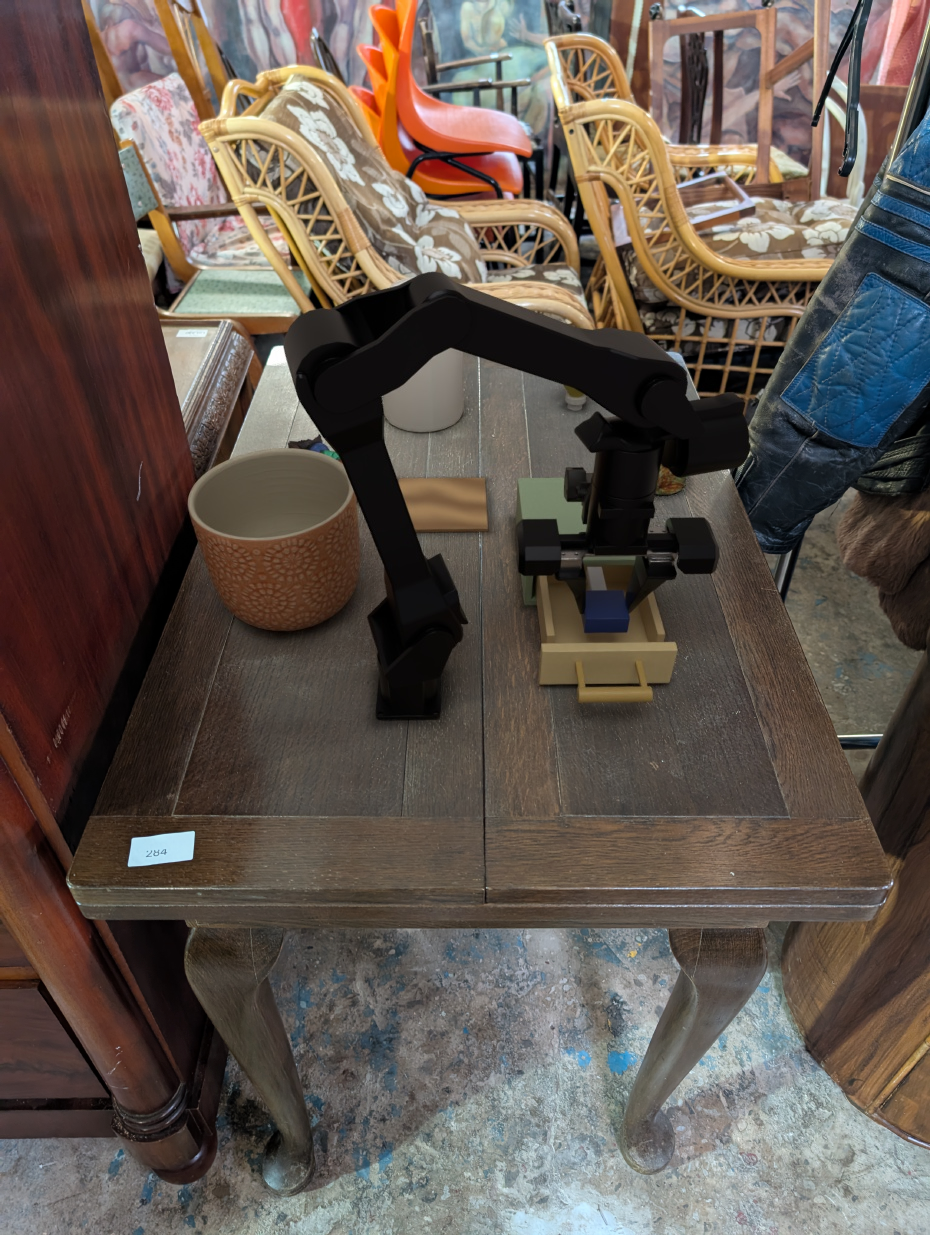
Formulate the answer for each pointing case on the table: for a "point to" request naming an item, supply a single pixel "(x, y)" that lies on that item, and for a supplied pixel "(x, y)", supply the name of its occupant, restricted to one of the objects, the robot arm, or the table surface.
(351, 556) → the planter
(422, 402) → the can
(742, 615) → the table surface
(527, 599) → the cabinet
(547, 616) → the drawer
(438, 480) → the mat
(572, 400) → the light bulb
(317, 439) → the figurine
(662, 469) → the seashell
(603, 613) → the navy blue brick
